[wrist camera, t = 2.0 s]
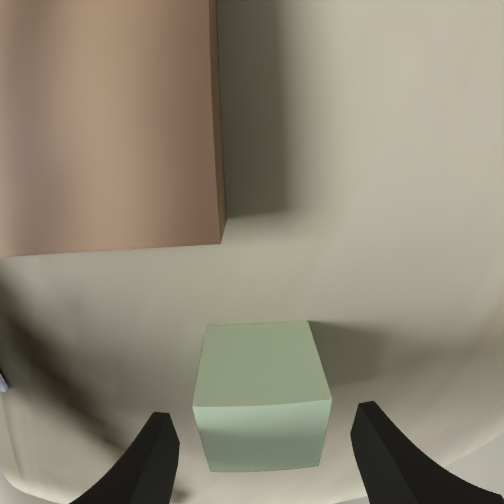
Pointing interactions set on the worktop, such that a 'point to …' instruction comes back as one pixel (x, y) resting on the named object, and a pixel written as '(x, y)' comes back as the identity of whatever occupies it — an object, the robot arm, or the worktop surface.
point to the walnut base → (109, 125)
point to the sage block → (261, 397)
